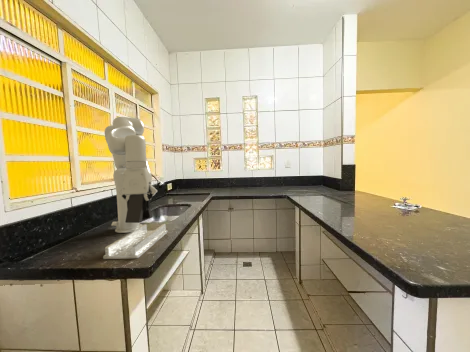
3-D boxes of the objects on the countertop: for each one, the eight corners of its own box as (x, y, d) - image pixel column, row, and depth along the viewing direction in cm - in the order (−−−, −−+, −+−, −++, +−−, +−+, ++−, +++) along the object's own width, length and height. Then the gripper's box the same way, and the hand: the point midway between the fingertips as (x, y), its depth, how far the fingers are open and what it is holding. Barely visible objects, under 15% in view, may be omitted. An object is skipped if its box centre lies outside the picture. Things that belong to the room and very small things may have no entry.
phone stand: (139, 222, 78) (137, 191, 77) (125, 222, 79) (123, 192, 78) (152, 217, 86) (151, 189, 86) (140, 217, 87) (138, 189, 87)
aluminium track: (103, 259, 69) (102, 247, 69) (143, 232, 97) (142, 224, 97) (137, 258, 69) (137, 246, 69) (167, 232, 97) (167, 223, 97)
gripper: (109, 167, 78) (112, 213, 79) (153, 165, 78) (156, 211, 78) (121, 167, 86) (123, 209, 86) (161, 165, 85) (163, 207, 86)
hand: (139, 209), depth 82 cm, fingers closed on phone stand, 6 cm apart
